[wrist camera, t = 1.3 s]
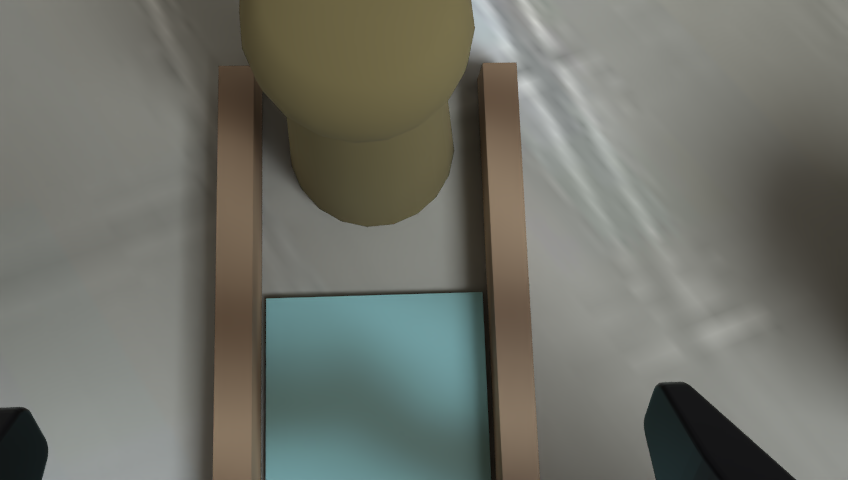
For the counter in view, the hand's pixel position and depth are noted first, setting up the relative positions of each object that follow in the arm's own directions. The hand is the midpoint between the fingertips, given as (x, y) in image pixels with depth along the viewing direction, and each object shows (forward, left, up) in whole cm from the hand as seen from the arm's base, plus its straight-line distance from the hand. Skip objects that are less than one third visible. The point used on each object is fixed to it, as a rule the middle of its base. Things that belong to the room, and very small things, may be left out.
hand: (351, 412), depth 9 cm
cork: (+6, -5, -13) cm, 16 cm away
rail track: (0, 0, -13) cm, 13 cm away
